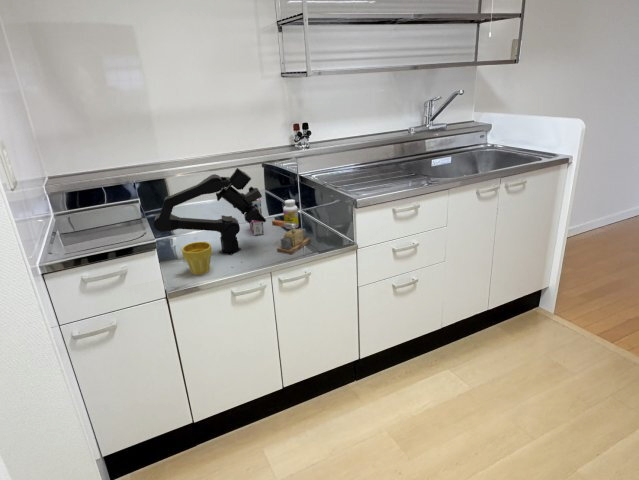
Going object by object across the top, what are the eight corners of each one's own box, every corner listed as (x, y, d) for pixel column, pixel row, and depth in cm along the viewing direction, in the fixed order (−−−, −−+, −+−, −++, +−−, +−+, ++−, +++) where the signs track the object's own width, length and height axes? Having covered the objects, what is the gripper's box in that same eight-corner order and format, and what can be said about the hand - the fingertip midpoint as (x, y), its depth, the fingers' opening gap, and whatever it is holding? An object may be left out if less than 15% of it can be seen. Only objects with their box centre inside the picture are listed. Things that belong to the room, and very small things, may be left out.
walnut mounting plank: (291, 254, 163) (291, 251, 162) (277, 251, 166) (276, 248, 166) (310, 241, 175) (310, 238, 174) (297, 238, 178) (296, 235, 177)
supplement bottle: (281, 228, 191) (279, 202, 186) (289, 224, 196) (287, 198, 192) (294, 230, 188) (292, 203, 183) (301, 225, 194) (299, 199, 189)
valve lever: (297, 227, 168) (297, 222, 167) (294, 229, 166) (293, 224, 165) (275, 223, 173) (274, 219, 172) (271, 225, 171) (271, 221, 170)
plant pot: (218, 272, 151) (214, 247, 147) (190, 279, 146) (185, 254, 143) (210, 262, 159) (206, 239, 156) (183, 269, 155) (178, 245, 151)
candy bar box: (264, 234, 185) (260, 199, 179) (253, 236, 184) (249, 201, 177) (260, 226, 195) (256, 193, 189) (249, 228, 194) (245, 194, 187)
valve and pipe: (289, 250, 163) (288, 234, 161) (279, 248, 165) (278, 232, 163) (307, 238, 174) (306, 223, 172) (298, 236, 177) (297, 221, 174)
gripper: (250, 188, 153) (282, 212, 159) (245, 177, 169) (274, 200, 176) (232, 211, 154) (263, 234, 160) (228, 198, 170) (257, 220, 177)
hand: (265, 221), depth 168 cm, fingers closed
